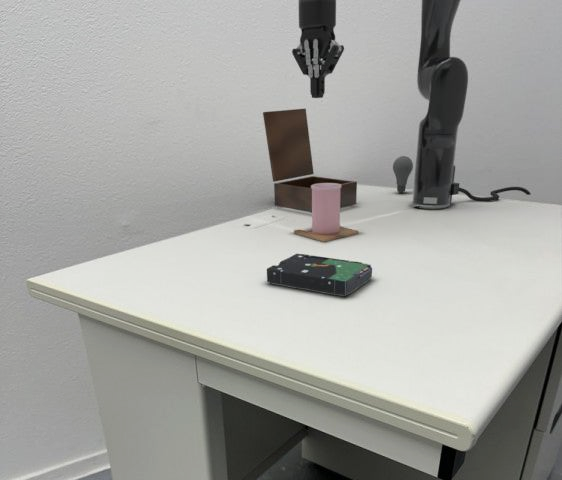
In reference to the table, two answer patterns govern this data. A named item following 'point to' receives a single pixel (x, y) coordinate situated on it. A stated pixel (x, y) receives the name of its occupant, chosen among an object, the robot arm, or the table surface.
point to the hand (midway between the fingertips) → (317, 97)
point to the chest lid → (288, 143)
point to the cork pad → (327, 237)
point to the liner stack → (326, 208)
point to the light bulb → (402, 171)
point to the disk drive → (320, 274)
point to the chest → (310, 192)
